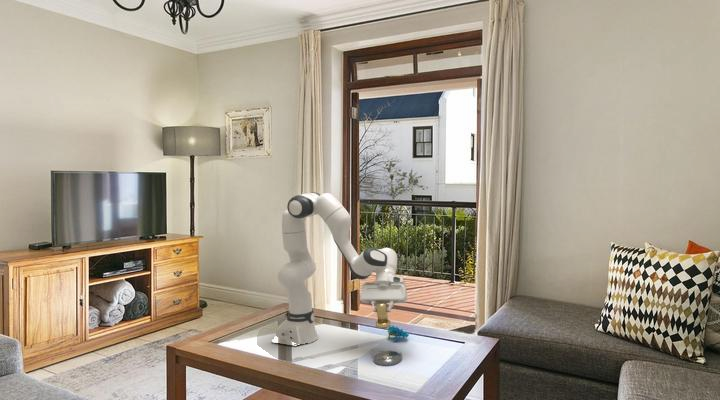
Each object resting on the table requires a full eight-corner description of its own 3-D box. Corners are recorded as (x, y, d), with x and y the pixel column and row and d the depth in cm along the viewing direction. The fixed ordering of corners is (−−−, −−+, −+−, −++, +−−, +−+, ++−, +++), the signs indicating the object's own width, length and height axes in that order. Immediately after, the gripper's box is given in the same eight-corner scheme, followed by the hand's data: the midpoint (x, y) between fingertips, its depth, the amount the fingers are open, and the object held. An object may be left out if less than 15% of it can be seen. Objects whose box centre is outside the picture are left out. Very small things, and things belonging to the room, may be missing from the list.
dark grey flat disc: (369, 364, 184) (369, 361, 184) (377, 352, 196) (377, 349, 196) (398, 366, 181) (398, 363, 180) (404, 354, 192) (404, 351, 192)
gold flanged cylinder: (374, 328, 187) (372, 306, 186) (377, 322, 193) (375, 301, 192) (389, 328, 185) (387, 306, 184) (392, 323, 191) (390, 301, 190)
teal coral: (413, 335, 207) (400, 325, 203) (409, 347, 204) (396, 337, 200) (395, 333, 215) (383, 323, 210) (391, 345, 212) (378, 335, 208)
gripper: (360, 279, 197) (356, 308, 189) (406, 278, 191) (403, 308, 182) (364, 286, 202) (360, 314, 193) (409, 285, 196) (406, 315, 187)
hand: (381, 311), depth 188 cm, fingers closed on gold flanged cylinder, 4 cm apart
